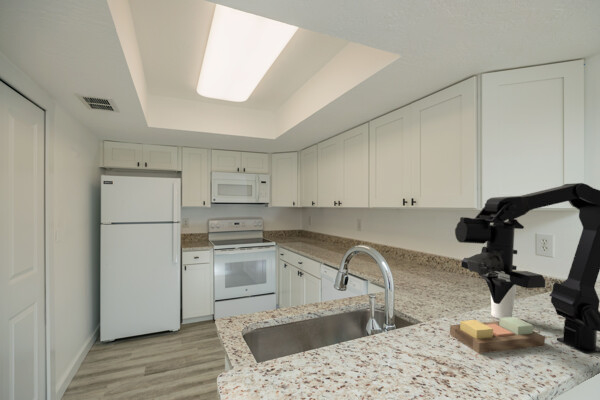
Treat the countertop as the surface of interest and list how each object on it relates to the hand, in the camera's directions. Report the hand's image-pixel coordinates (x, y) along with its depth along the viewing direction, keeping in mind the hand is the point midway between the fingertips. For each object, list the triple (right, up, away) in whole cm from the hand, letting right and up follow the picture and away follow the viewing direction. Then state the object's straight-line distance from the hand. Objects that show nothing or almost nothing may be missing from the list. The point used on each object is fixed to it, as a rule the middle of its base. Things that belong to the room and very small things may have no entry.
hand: (496, 303), depth 70 cm
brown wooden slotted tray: (0, -10, 0) cm, 10 cm away
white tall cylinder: (+12, -10, +14) cm, 21 cm away
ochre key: (-6, -8, -1) cm, 10 cm away
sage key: (+6, -8, +2) cm, 10 cm away
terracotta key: (0, -10, 0) cm, 10 cm away
